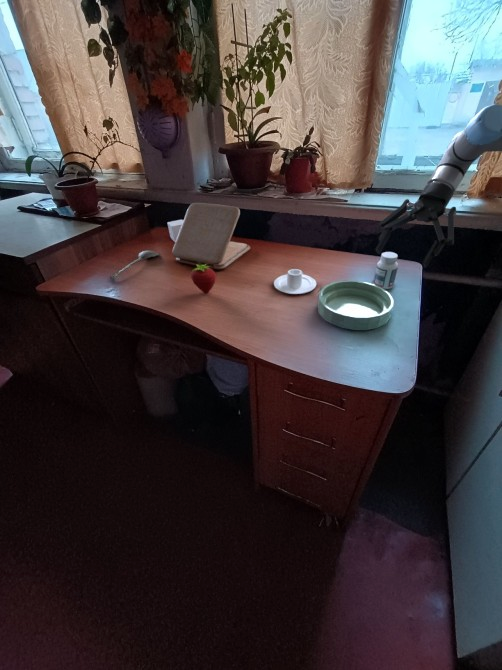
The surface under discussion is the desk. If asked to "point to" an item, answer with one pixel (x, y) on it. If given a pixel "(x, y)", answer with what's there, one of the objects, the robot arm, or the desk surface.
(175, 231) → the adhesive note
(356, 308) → the bowl
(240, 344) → the desk surface
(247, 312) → the desk surface
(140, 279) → the desk surface
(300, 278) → the candle holder
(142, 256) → the soupspoon
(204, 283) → the strawberry
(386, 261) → the pill bottle
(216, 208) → the case
